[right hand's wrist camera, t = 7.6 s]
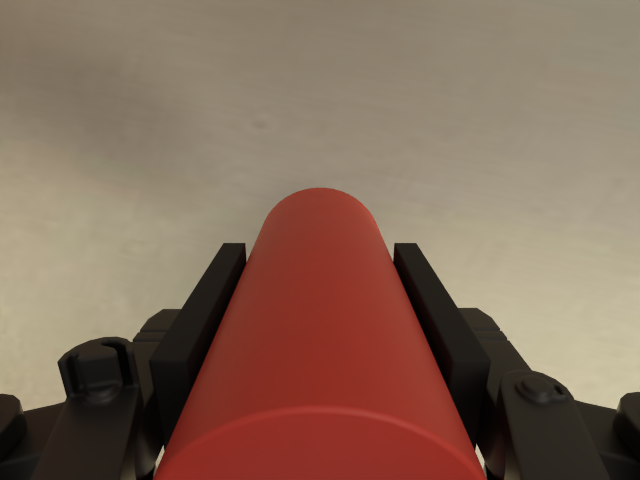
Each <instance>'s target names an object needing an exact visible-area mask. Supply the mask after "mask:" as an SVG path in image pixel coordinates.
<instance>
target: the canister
mask: <svg viewBox="0 0 640 480" xmlns="http://www.w3.org/2000/svg"><path fill="white" fill-rule="evenodd" d="M153 480H487V478H486V476H485V473H484V471H483V469H482V466H481V464H480V462H479V460H478V457H477V455H476V453H475V450H474V448H473V446H472V443H471V441H470V439H469V436H468V434H467V432H466V430H465V427H464V425H463V423H462V420H461V418H460V416H459V413H458V411H457V409H456V406H455V404H454V402H453V400H452V397H451V395H450V393H449V390H448V388H447V386H446V383H445V381H444V379H443V376H442V374H441V372H440V370H439V367H438V365H437V363H436V360H435V358H434V356H433V353H432V351H431V349H430V346H429V344H428V342H427V340H426V337H425V335H424V333H423V330H422V328H421V326H420V323H419V321H418V319H417V316H416V314H415V312H414V309H413V307H412V305H411V303H410V300H409V298H408V296H407V293H406V291H405V289H404V286H403V284H402V282H401V279H400V277H399V275H398V273H397V270H396V268H395V266H394V263H393V261H392V259H391V256H390V254H389V252H388V249H387V247H386V245H385V243H384V240H383V238H382V236H381V233H380V231H379V229H378V226H377V224H376V222H375V220H374V218H373V216H372V215H371V213H370V212H369V211H368V209H367V208H366V207H365V206H364V205H363V204H362V203H361V202H359V201H358V200H357V199H355V198H354V197H352V196H350V195H349V194H346V193H344V192H342V191H338V190H335V189H329V188H311V189H306V190H302V191H299V192H296V193H293V194H291V195H290V196H288V197H286V198H285V199H283V200H282V201H281V202H279V203H278V204H277V205H276V206H275V207H274V208H273V209H272V211H271V212H270V213H269V215H268V216H267V218H266V220H265V222H264V224H263V226H262V229H261V231H260V233H259V236H258V238H257V240H256V242H255V245H254V247H253V249H252V252H251V254H250V256H249V259H248V261H247V263H246V266H245V268H244V270H243V272H242V275H241V277H240V279H239V282H238V284H237V286H236V289H235V291H234V293H233V295H232V298H231V300H230V302H229V305H228V307H227V309H226V312H225V314H224V316H223V318H222V321H221V323H220V325H219V328H218V330H217V332H216V335H215V337H214V339H213V342H212V344H211V346H210V348H209V351H208V353H207V355H206V358H205V360H204V362H203V365H202V367H201V369H200V371H199V374H198V376H197V378H196V381H195V383H194V385H193V388H192V390H191V392H190V394H189V397H188V399H187V401H186V404H185V406H184V408H183V411H182V413H181V415H180V418H179V420H178V422H177V424H176V427H175V429H174V431H173V434H172V436H171V438H170V441H169V443H168V445H167V447H166V450H165V452H164V454H163V457H162V459H161V461H160V464H159V466H158V468H157V470H156V473H155V475H154V477H153Z"/></svg>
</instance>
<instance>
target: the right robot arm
mask: <svg viewBox="0 0 640 480" xmlns="http://www.w3.org/2000/svg"><path fill="white" fill-rule="evenodd" d="M246 263H247V262H246V248H245V243H224V244H223V245H222V247H221V248H220V250H219V251H218V253H217V254H216V256H215V258H214V259H213V261H212V262H211V264H210V265H209V267H208V268H207V270H206V272H205V273H204V275H203V276H202V278H201V279H200V281H199V282H198V284H197V286H196V287H195V289H194V290H193V292H192V293H191V295H190V296H189V298H188V300H187V301H186V303H185V304H184V306H183V307H182V309H163V310H161V311H160V312H158V313H157V314H155V315H154V316H152V317H151V318H149V319H148V320H147V322H146V323H145V324H144V326H143V327H142V328H141V330H140V332H138V333H137V335H136V336H135V337H134V339H133V342H130V341H128V340H127V339H124V338H120V337H103V338H99V339H94V340H90V341H87V342H85V343H83V344H80V345H78V346H76V347H74V348H73V349H71V350H70V351H68V352H66V353H65V354H64V355H63V356H62V357H61V358H60V360H59V361H58V362H57V363H58V366H59V370H60V374H61V377H62V381H63V384H64V388H65V392H66V395H67V398H66V401H65V402H63V403H59V404H56V405H51V406H46V407H42V408H37V409H33V410H28V411H23V409H22V406H21V403H20V400H19V399H17V398H16V397H15V396H14V395H8V394H0V480H153V477H154V475H155V473H156V470H157V468H156V463H155V462H156V460H157V458H158V455H159V453H160V451H161V449H162V446H163V445H164V450H166V447H167V445H168V443H169V441H170V438H171V436H172V434H173V431H174V429H175V427H176V424H177V422H178V420H179V418H180V415H181V413H182V411H183V408H184V406H185V404H186V401H187V399H188V397H189V394H190V392H191V390H192V388H193V385H194V383H195V381H196V378H197V376H198V374H199V371H200V369H201V367H202V365H203V362H204V360H205V358H206V355H207V353H208V351H209V348H210V346H211V344H212V342H213V339H214V337H215V335H216V332H217V330H218V328H219V325H220V323H221V321H222V318H223V316H224V314H225V312H226V309H227V307H228V305H229V302H230V300H231V298H232V295H233V293H234V291H235V289H236V286H237V284H238V282H239V279H240V277H241V275H242V272H243V270H244V268H245V266H246ZM393 263H394V266H395V268H396V270H397V273H398V275H399V277H400V279H401V282H402V284H403V286H404V289H405V291H406V293H407V296H408V298H409V300H410V303H411V305H412V307H413V309H414V312H415V314H416V316H417V319H418V321H419V323H420V326H421V328H422V330H423V333H424V335H425V337H426V340H427V342H428V344H429V346H430V349H431V351H432V353H433V356H434V358H435V360H436V363H437V365H438V367H439V370H440V372H441V374H442V376H443V379H444V381H445V383H446V386H447V388H448V390H449V393H450V395H451V397H452V400H453V402H454V404H455V406H456V409H457V411H458V413H459V416H460V418H461V420H462V423H463V425H464V427H465V430H466V432H467V434H468V436H469V439H470V441H471V443H472V446H473V448H474V450H475V449H476V443H477V445H478V447H479V449H480V452H481V454H482V456H483V458H484V461H485V463H484V468H483V471H484V473H485V476H486V478H487V480H640V392H634V393H627V394H626V395H624V396H623V397H622V398H621V399H620V402H619V405H618V408H617V410H616V409H611V408H606V407H602V406H597V405H592V404H588V403H583V402H580V401H576V400H574V398H573V396H572V395H571V393H570V392H569V391H568V389H567V388H566V387H565V386H564V385H562V384H561V383H560V382H558V381H557V380H556V379H553V378H551V377H549V376H547V375H545V374H543V373H540V372H536V371H532V370H531V369H530V367H529V366H528V365H527V363H526V362H525V361H524V360H523V358H522V357H521V356H520V354H519V353H518V352H517V350H516V349H515V348H514V346H513V345H512V344H511V343H510V341H507V337H506V336H505V335H504V333H503V332H502V331H500V328H499V327H498V326H497V324H496V323H495V322H494V320H493V319H492V318H491V317H490V316H488V315H487V314H485V313H484V312H482V311H481V310H479V309H478V308H457V306H456V305H455V303H454V302H453V300H452V298H451V297H450V295H449V294H448V292H447V291H446V289H445V288H444V286H443V284H442V283H441V281H440V280H439V278H438V277H437V275H436V273H435V272H434V270H433V269H432V267H431V266H430V264H429V263H428V261H427V259H426V258H425V256H424V255H423V253H422V252H421V250H420V249H419V247H418V245H417V244H416V243H395V244H394V259H393Z"/></svg>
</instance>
